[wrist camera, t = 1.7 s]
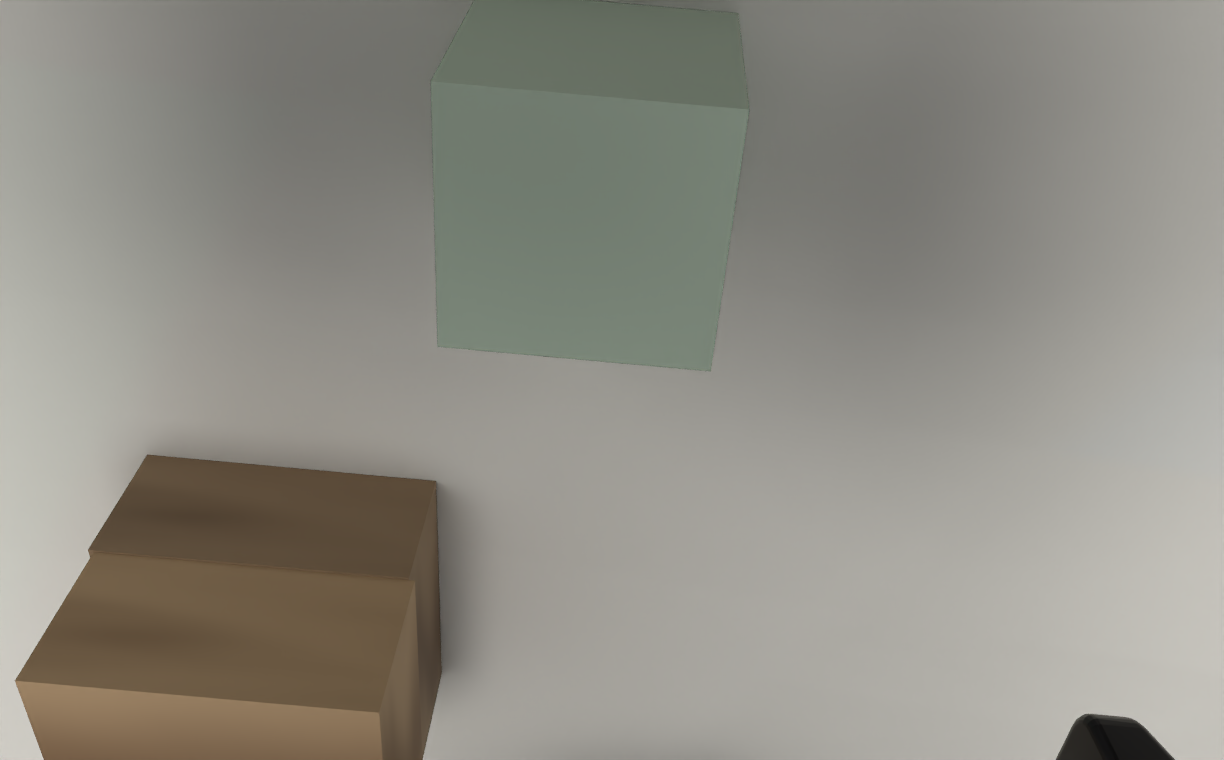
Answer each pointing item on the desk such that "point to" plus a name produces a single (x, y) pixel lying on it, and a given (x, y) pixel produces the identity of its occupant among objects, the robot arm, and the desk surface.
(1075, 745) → the robot arm
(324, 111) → the desk surface
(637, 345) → the sage block
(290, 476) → the block
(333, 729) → the brown square block
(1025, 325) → the desk surface
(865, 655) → the desk surface
